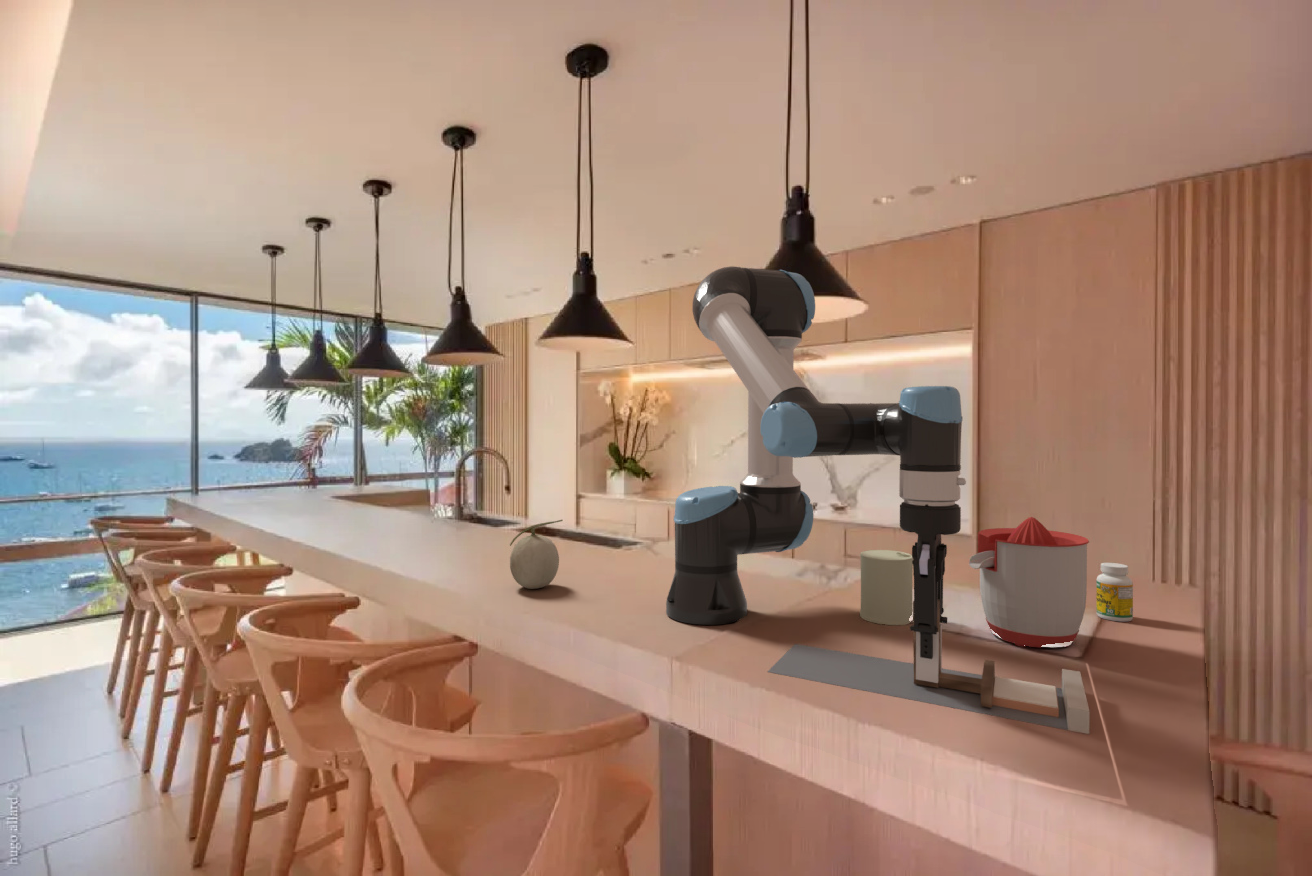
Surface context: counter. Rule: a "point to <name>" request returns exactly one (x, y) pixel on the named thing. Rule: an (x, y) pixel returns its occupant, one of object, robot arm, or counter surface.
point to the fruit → (534, 559)
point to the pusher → (961, 682)
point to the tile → (1025, 696)
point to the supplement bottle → (1114, 593)
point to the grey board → (900, 683)
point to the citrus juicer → (1032, 583)
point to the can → (886, 587)
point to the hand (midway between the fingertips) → (928, 674)
